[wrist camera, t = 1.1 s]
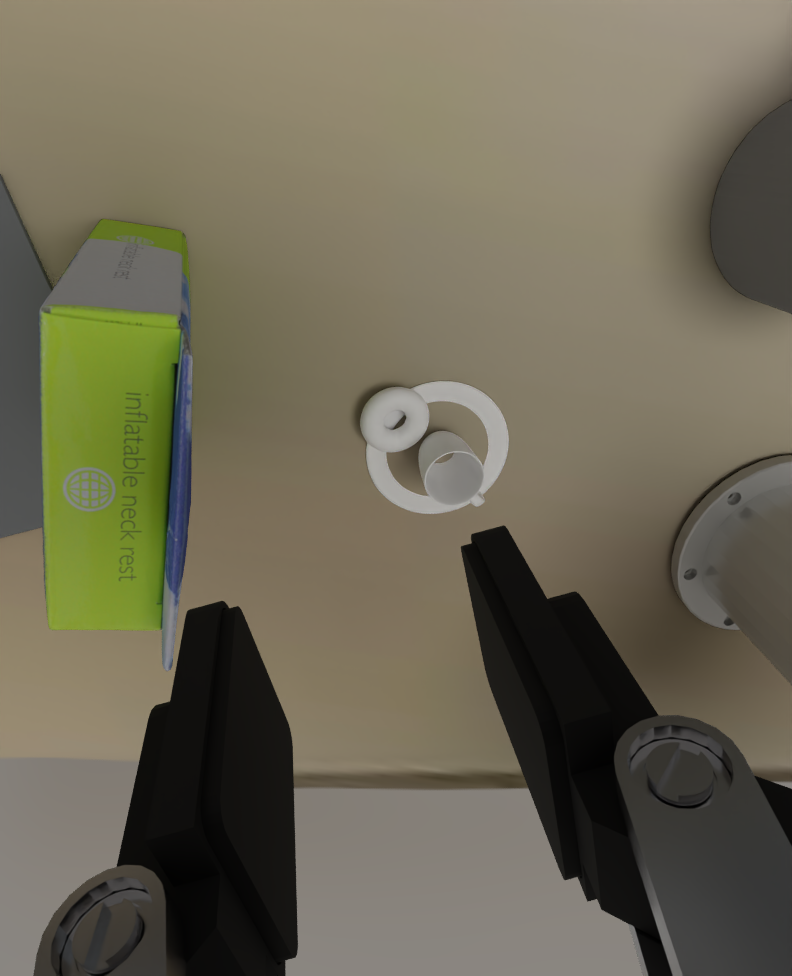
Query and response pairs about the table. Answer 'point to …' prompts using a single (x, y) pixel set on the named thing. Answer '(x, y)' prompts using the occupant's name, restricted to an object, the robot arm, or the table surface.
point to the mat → (19, 373)
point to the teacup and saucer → (432, 446)
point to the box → (117, 432)
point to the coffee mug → (758, 213)
